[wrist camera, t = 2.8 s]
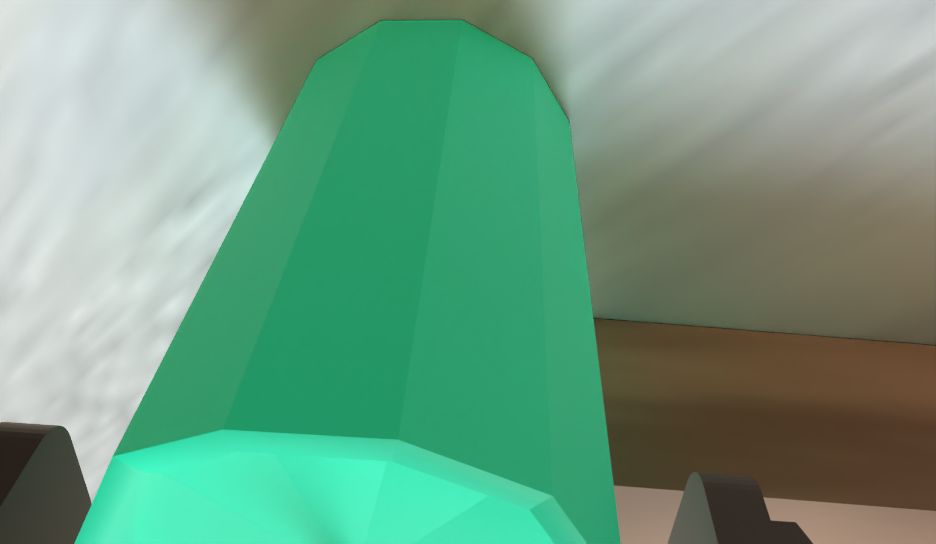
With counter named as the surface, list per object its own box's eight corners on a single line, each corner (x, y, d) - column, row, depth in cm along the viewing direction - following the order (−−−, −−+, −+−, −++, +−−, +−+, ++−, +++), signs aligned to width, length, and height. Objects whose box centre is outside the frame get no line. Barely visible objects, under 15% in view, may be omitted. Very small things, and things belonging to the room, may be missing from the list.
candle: (534, -24, 15) (568, 534, 5) (598, 240, 18) (691, 876, 9) (239, 60, 16) (-173, 637, 6) (349, 293, 19) (186, 903, 10)
